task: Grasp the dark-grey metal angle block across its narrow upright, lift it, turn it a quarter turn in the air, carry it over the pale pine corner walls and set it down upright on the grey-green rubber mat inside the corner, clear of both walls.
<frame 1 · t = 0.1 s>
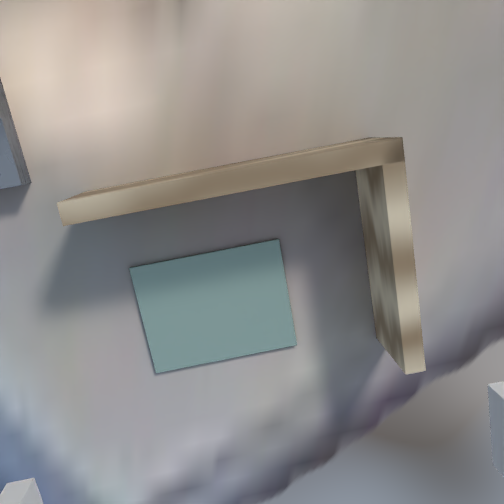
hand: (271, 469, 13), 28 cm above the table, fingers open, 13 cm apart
wooden corner frame: (246, 256, 41), on the table
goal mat: (215, 306, 42), on the table
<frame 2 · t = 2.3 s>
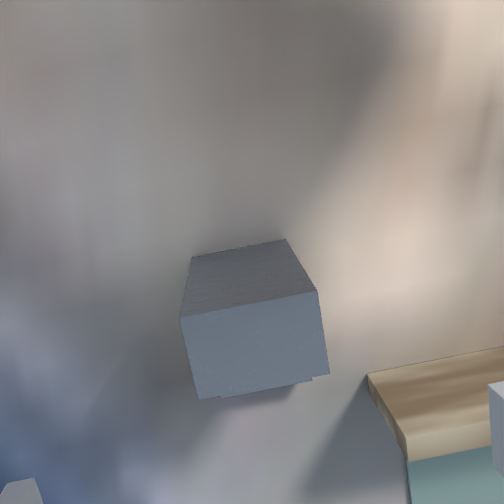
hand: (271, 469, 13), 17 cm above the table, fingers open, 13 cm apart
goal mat: (495, 491, 36), on the table
angle block: (251, 313, 31), on the table
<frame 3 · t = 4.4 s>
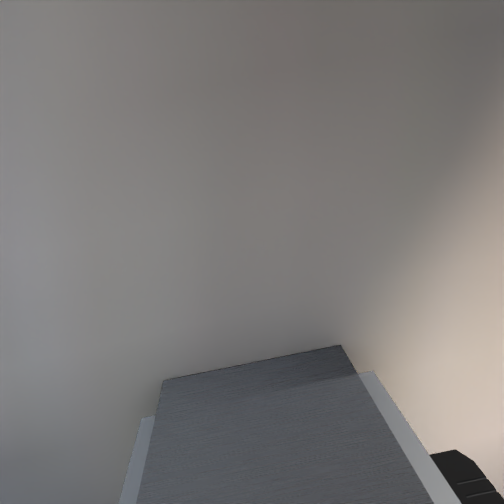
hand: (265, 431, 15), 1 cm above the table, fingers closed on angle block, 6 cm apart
angle block: (275, 475, 17), on the table, touching gripper
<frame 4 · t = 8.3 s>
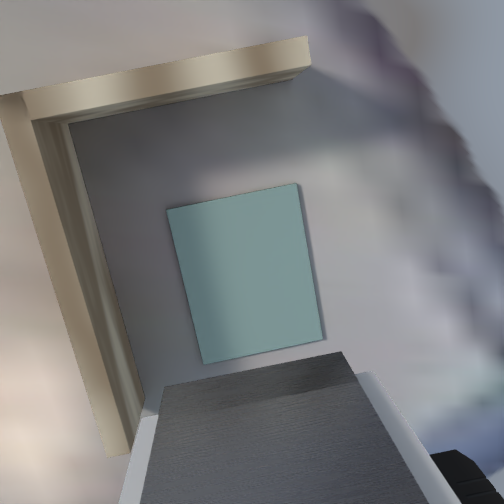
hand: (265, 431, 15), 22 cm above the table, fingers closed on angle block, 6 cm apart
wooden corner frame: (188, 244, 36), on the table
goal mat: (247, 276, 37), on the table
angle block: (276, 481, 17), point 21 cm above the table, touching gripper
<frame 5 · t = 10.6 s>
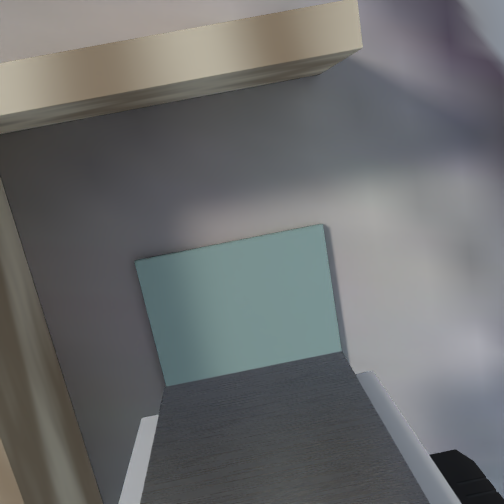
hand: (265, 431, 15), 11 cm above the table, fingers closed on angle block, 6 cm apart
wooden corner frame: (167, 309, 25), on the table
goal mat: (251, 352, 26), on the table
angle block: (276, 481, 17), point 10 cm above the table, touching gripper
when the fingers open (3 cm above the table, at t = 12.5 s): angle block drops 2 cm, resting on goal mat.
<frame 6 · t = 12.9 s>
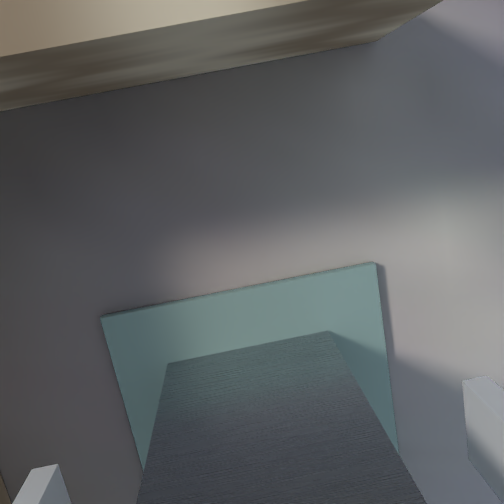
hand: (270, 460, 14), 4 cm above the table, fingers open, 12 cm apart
wooden corner frame: (148, 383, 18), on the table
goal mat: (269, 441, 19), on the table
angle block: (269, 450, 18), resting on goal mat
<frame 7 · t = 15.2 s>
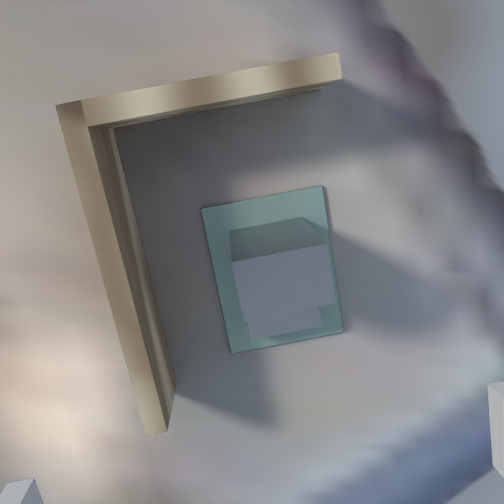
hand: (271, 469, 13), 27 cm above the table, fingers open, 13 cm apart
wooden corner frame: (220, 241, 39), on the table
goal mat: (274, 271, 40), on the table
angle block: (274, 275, 40), resting on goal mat
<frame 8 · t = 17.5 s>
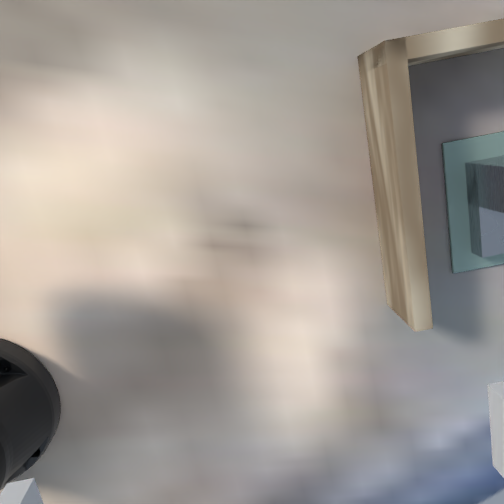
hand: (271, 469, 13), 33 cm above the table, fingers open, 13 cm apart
wooden corner frame: (454, 172, 45), on the table
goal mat: (496, 200, 46), on the table
angle block: (498, 202, 46), resting on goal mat
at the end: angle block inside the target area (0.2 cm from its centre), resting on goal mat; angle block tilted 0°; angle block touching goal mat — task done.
